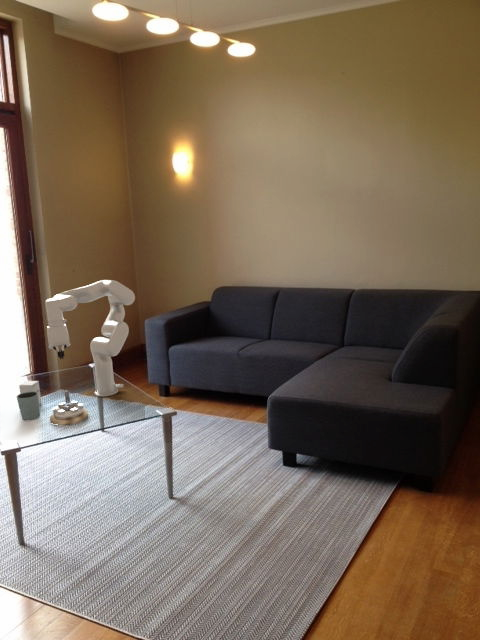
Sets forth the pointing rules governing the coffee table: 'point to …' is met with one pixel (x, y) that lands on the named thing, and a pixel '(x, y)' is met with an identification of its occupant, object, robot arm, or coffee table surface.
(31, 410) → the grey-green cup
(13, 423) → the coffee table surface
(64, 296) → the robot arm
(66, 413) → the disc with radial blocks
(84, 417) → the round tan disc base
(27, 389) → the supplement box
